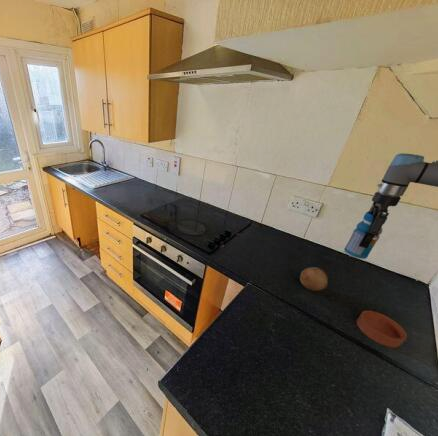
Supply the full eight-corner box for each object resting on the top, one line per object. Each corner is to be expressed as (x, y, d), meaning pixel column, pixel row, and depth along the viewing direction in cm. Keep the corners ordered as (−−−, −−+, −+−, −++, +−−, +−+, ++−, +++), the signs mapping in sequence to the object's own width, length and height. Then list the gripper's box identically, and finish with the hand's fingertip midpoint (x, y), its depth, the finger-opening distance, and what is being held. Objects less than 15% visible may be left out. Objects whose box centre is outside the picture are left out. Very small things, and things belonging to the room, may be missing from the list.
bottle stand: (395, 328, 82) (401, 321, 80) (405, 354, 73) (412, 347, 71) (354, 312, 87) (359, 305, 86) (358, 334, 78) (364, 327, 77)
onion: (316, 299, 92) (326, 280, 88) (292, 284, 100) (300, 266, 95) (326, 290, 97) (336, 272, 93) (302, 277, 105) (310, 259, 100)
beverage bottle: (344, 255, 101) (365, 215, 92) (342, 246, 107) (362, 208, 99) (368, 262, 97) (393, 221, 88) (365, 253, 103) (387, 213, 95)
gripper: (371, 185, 99) (348, 230, 109) (381, 199, 83) (353, 250, 93) (394, 189, 96) (368, 235, 106) (409, 204, 80) (377, 256, 90)
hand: (361, 242), depth 99 cm, fingers closed on beverage bottle, 8 cm apart
